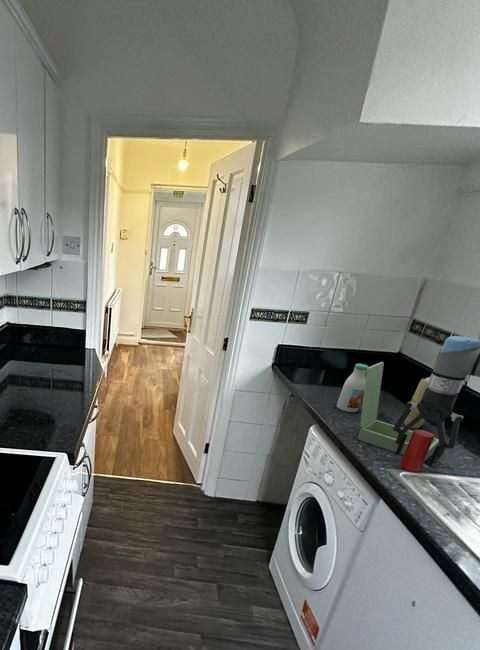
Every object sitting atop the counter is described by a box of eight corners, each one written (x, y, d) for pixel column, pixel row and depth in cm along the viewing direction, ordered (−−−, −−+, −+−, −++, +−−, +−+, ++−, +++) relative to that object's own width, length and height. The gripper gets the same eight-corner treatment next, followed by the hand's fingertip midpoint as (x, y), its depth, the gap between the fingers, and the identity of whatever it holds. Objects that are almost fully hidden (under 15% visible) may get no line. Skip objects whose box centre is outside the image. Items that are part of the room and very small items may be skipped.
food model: (421, 433, 155) (444, 383, 147) (400, 427, 159) (421, 378, 150) (422, 424, 163) (444, 377, 154) (402, 419, 166) (422, 372, 157)
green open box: (434, 452, 140) (440, 439, 138) (423, 464, 132) (428, 450, 130) (370, 431, 154) (374, 419, 152) (356, 440, 146) (360, 428, 144)
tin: (422, 468, 130) (436, 434, 125) (417, 473, 126) (432, 438, 122) (402, 461, 133) (416, 428, 128) (397, 466, 130) (411, 432, 125)
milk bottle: (336, 412, 170) (352, 366, 162) (334, 405, 177) (349, 360, 168) (357, 416, 168) (375, 369, 159) (354, 409, 174) (371, 364, 166)
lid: (383, 362, 146) (381, 362, 146) (369, 368, 138) (367, 367, 138) (376, 418, 152) (374, 418, 152) (362, 427, 143) (359, 427, 144)
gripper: (396, 382, 124) (372, 449, 133) (486, 404, 110) (452, 477, 119) (404, 378, 129) (380, 443, 138) (491, 399, 114) (458, 469, 124)
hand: (413, 459), depth 128 cm, fingers open, 8 cm apart
